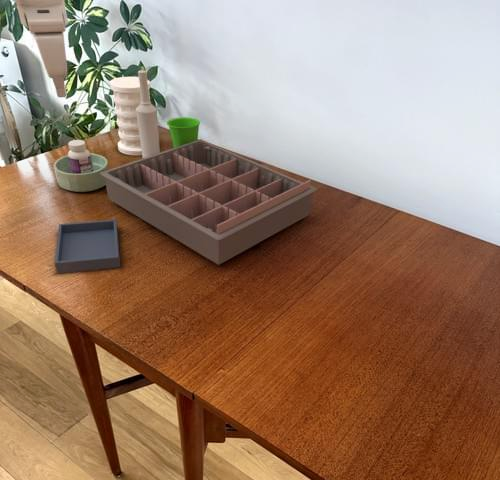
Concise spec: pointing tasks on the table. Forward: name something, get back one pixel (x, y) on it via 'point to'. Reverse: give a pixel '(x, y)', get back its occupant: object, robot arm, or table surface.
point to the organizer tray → (209, 198)
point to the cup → (183, 130)
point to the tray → (87, 246)
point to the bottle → (147, 120)
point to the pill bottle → (79, 157)
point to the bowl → (83, 180)
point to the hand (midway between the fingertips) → (59, 89)
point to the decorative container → (127, 113)
